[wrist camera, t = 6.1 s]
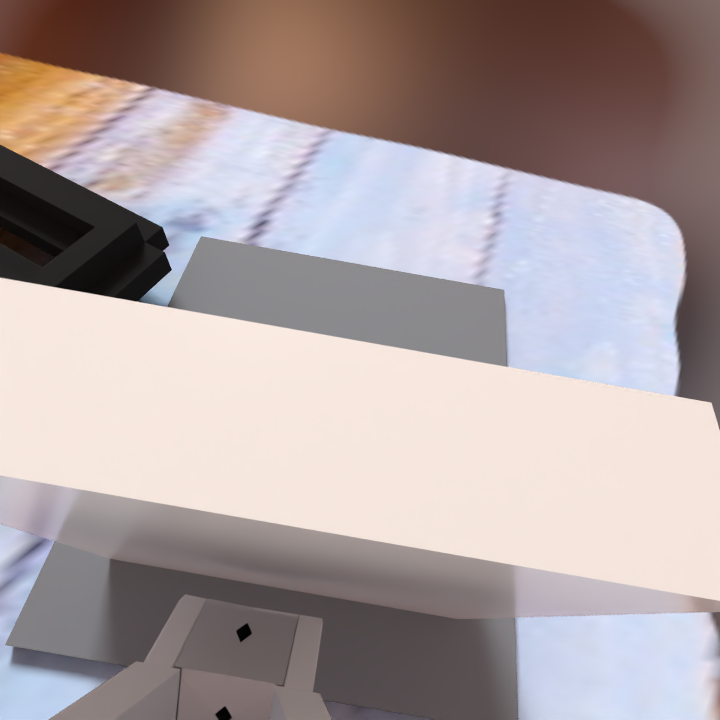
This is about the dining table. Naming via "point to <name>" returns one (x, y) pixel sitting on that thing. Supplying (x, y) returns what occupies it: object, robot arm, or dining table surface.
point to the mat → (340, 617)
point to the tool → (76, 235)
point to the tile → (350, 465)
